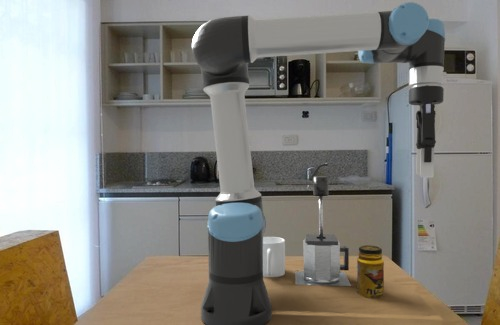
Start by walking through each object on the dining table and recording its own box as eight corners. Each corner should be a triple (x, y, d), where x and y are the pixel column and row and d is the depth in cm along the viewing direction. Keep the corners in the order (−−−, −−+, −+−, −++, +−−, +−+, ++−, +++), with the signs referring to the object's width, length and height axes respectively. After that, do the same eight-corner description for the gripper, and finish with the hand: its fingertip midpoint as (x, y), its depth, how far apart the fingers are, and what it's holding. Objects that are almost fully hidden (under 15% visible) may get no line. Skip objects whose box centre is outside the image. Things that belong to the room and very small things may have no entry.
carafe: (304, 283, 96) (303, 241, 95) (302, 271, 105) (302, 233, 105) (351, 284, 94) (350, 242, 94) (345, 272, 104) (345, 234, 104)
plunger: (308, 249, 96) (307, 177, 96) (307, 243, 104) (306, 176, 103) (336, 250, 96) (336, 177, 95) (333, 243, 103) (332, 176, 102)
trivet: (295, 287, 95) (295, 284, 95) (295, 273, 106) (295, 271, 106) (351, 289, 94) (351, 285, 94) (344, 274, 105) (344, 272, 105)
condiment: (382, 305, 84) (381, 252, 83) (345, 298, 88) (344, 248, 88) (388, 294, 90) (388, 245, 90) (353, 288, 94) (353, 241, 94)
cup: (285, 270, 109) (284, 236, 109) (284, 285, 97) (284, 247, 97) (257, 270, 110) (256, 236, 109) (253, 284, 98) (253, 246, 98)
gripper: (451, 75, 75) (449, 179, 76) (437, 94, 98) (435, 173, 99) (411, 78, 78) (409, 178, 78) (406, 96, 101) (405, 173, 102)
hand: (424, 176), depth 89 cm, fingers open, 13 cm apart
